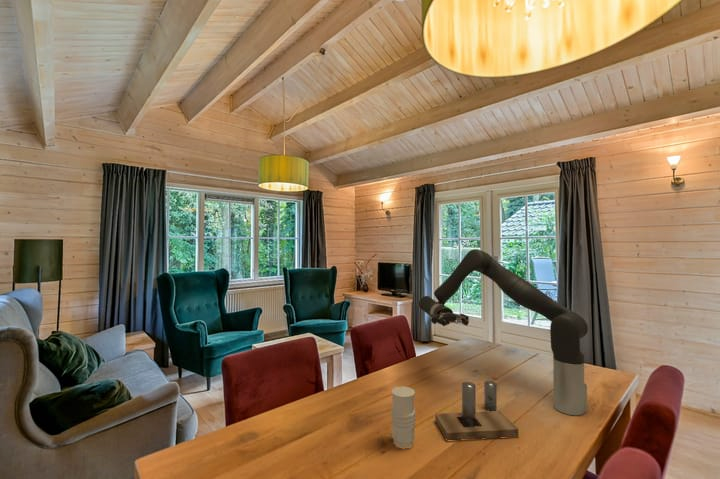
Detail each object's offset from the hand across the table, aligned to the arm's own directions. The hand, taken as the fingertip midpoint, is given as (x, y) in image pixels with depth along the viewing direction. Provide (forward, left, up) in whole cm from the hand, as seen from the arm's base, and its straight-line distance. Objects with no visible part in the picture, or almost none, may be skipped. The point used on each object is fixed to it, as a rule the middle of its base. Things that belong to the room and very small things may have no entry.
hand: (455, 323), depth 127 cm
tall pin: (+4, +21, -28) cm, 35 cm away
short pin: (-9, +9, -28) cm, 31 cm away
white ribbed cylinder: (+26, +26, -28) cm, 46 cm away
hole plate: (+2, +21, -28) cm, 35 cm away
